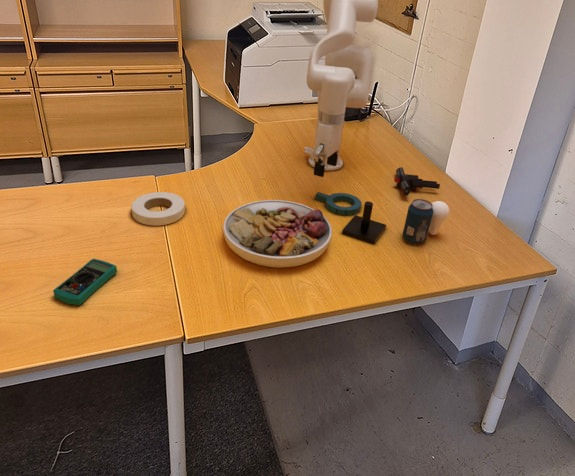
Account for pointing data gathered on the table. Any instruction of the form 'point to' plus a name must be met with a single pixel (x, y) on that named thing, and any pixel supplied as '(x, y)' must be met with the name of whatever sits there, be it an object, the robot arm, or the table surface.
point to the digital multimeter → (85, 282)
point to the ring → (340, 197)
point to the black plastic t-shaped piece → (412, 182)
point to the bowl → (277, 233)
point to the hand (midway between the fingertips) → (325, 170)
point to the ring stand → (364, 226)
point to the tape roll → (158, 217)
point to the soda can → (418, 221)
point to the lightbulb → (438, 216)
